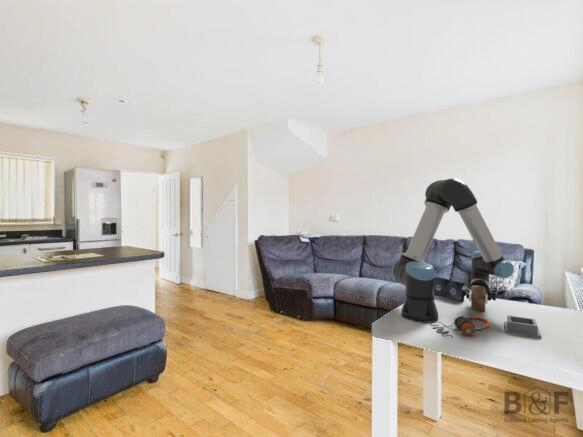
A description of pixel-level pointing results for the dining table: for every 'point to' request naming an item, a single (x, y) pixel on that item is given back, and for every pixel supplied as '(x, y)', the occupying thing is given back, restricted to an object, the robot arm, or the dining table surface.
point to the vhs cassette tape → (448, 289)
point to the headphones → (465, 325)
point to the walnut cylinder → (478, 299)
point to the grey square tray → (522, 326)
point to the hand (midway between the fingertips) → (478, 299)
